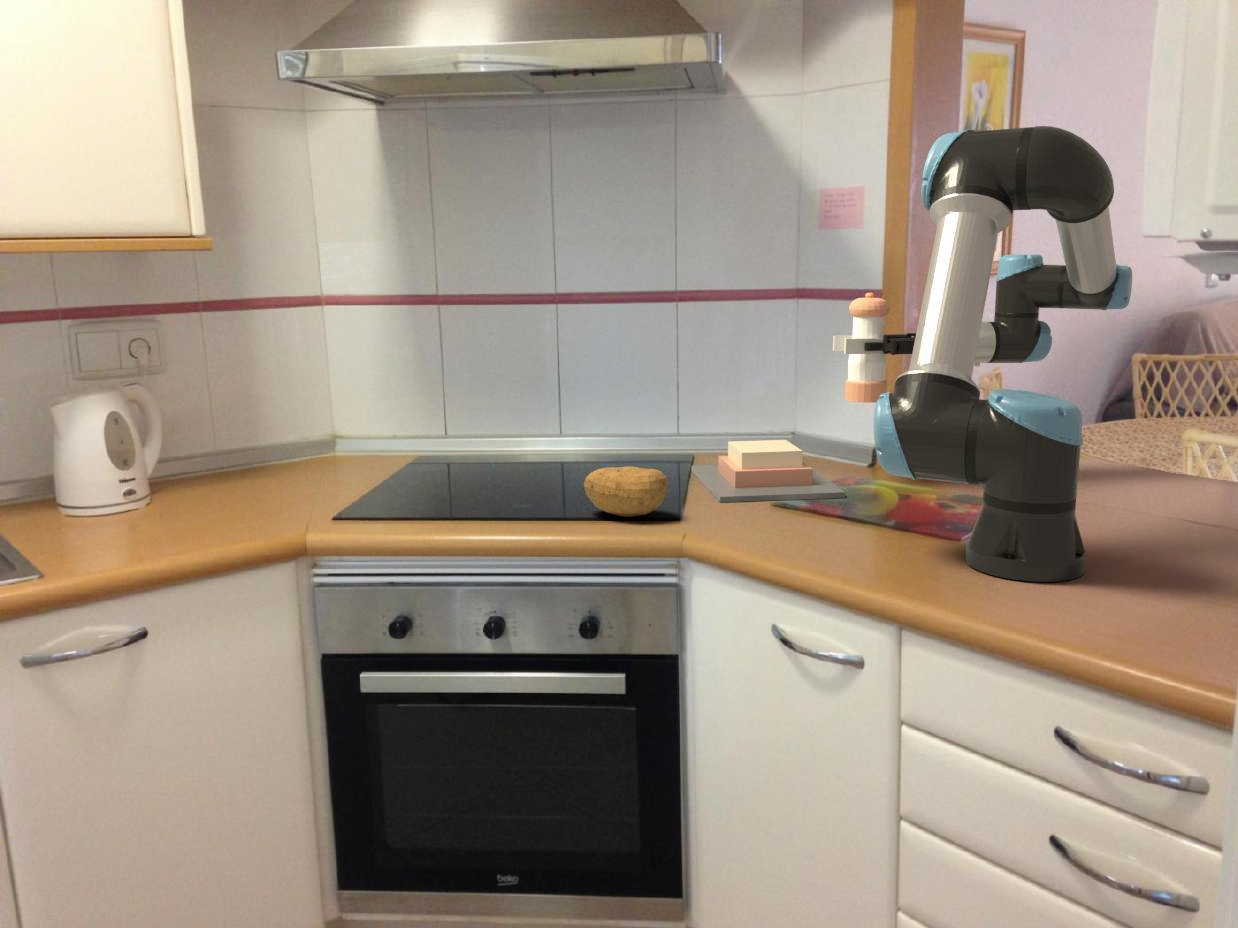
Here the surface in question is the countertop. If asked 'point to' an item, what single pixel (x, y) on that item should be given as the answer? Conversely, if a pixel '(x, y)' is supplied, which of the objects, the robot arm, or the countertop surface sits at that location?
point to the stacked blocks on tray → (764, 474)
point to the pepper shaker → (867, 368)
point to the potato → (626, 490)
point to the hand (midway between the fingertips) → (839, 344)
